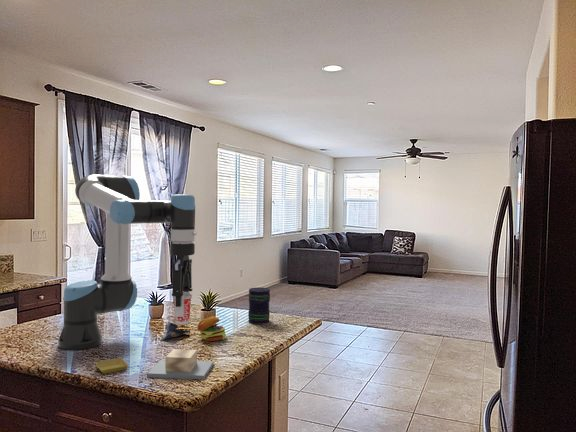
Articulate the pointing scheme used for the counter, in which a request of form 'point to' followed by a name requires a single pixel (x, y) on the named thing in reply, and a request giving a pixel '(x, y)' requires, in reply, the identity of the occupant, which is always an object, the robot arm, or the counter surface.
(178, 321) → the beverage cup
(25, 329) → the counter surface
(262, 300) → the storage jar
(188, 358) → the block
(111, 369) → the yellow square slab
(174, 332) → the dark grey crumpled piece
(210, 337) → the cheeseburger
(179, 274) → the robot arm
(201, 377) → the board
